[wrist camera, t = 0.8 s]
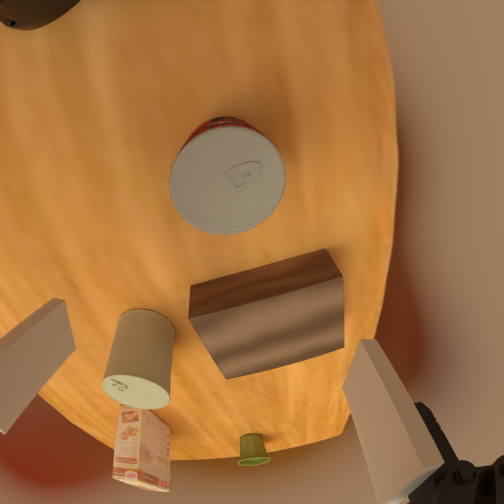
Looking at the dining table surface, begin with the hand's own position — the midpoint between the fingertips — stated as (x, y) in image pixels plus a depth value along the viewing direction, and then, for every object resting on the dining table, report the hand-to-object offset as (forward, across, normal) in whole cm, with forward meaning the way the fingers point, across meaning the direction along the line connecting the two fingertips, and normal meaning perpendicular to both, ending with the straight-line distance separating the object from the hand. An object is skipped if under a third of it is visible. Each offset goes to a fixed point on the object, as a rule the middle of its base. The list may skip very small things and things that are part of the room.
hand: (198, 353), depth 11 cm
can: (+25, -13, -17) cm, 32 cm away
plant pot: (+41, +7, -63) cm, 75 cm away
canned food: (+20, -2, +9) cm, 22 cm away
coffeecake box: (+32, -20, -50) cm, 63 cm away
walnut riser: (+26, +5, -11) cm, 29 cm away
